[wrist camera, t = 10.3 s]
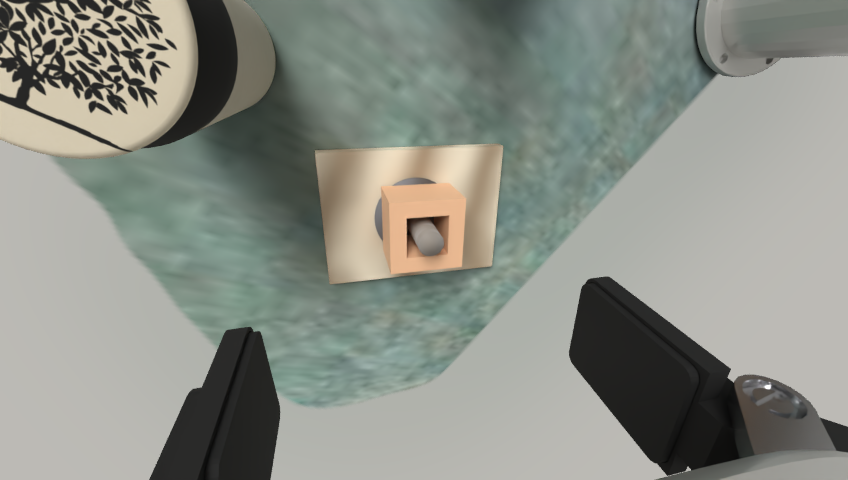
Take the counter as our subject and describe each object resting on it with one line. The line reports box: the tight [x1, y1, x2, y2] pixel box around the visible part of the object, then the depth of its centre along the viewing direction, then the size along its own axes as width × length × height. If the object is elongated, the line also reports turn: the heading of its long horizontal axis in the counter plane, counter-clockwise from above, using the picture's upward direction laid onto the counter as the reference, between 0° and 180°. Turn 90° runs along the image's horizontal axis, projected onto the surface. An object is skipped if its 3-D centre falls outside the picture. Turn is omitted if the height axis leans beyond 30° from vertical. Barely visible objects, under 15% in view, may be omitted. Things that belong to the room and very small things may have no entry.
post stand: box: [315, 144, 503, 284], centre depth 31 cm, size 16×12×7 cm
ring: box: [381, 183, 466, 274], centre depth 31 cm, size 6×6×4 cm
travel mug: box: [0, 0, 275, 159], centre depth 18 cm, size 8×8×18 cm
